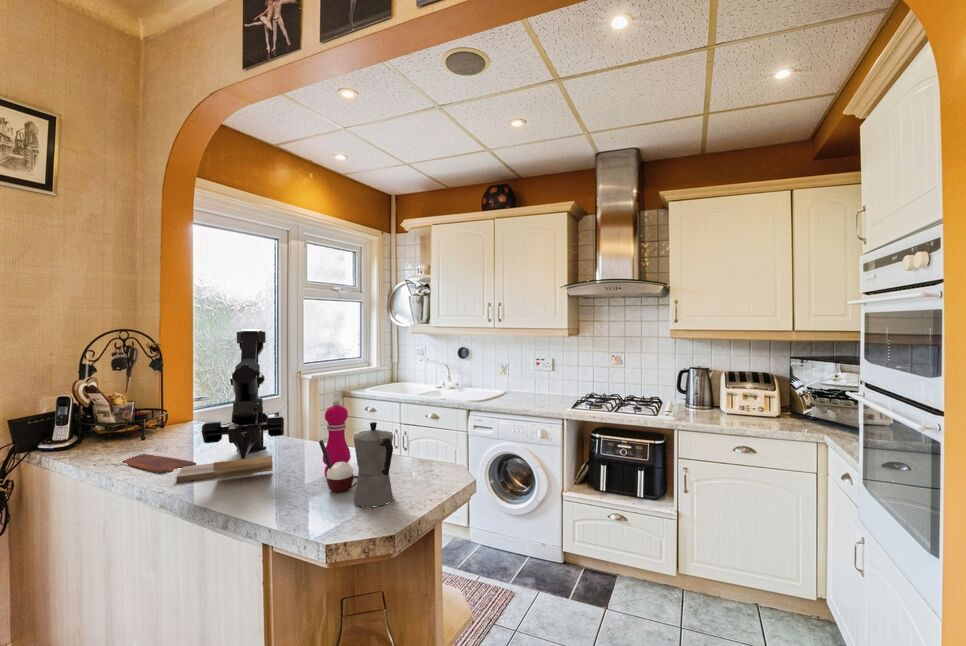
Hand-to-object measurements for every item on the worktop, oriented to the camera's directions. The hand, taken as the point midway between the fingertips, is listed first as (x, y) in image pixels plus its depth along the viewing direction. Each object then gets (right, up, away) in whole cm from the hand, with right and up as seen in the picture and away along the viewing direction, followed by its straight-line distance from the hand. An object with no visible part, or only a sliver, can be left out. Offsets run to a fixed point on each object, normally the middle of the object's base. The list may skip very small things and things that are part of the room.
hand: (243, 458), depth 111 cm
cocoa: (+25, -7, -2) cm, 26 cm away
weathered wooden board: (-13, -7, +11) cm, 18 cm away
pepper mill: (+20, -7, +10) cm, 24 cm away
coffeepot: (+35, -7, -9) cm, 37 cm away
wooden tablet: (-37, -8, +20) cm, 43 cm away
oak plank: (-2, -4, +4) cm, 6 cm away
